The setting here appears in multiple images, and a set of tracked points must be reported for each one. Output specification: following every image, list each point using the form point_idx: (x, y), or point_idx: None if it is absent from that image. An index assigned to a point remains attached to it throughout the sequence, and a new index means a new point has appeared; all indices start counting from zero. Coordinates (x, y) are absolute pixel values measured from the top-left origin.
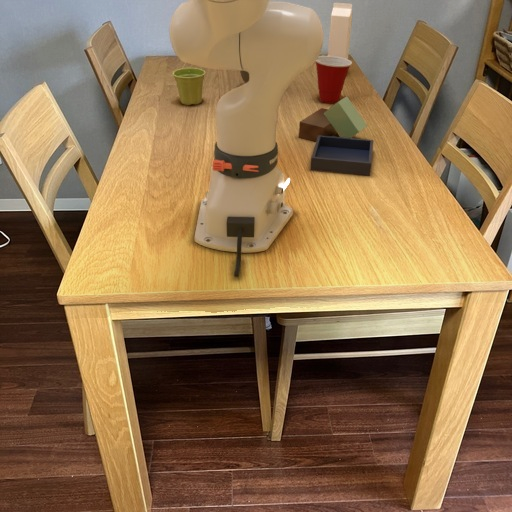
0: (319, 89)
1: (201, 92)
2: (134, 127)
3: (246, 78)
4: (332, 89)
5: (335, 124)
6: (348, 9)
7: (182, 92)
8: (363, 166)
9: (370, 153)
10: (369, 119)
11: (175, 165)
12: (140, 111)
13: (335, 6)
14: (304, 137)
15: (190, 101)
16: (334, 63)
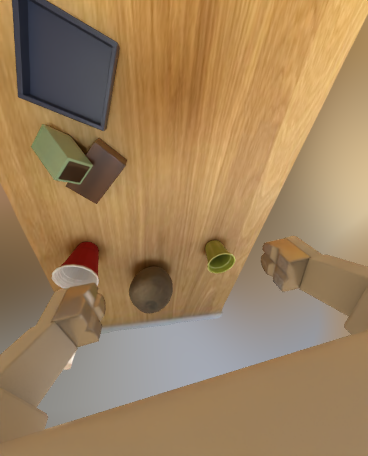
0: (97, 254)
1: (207, 250)
2: (268, 200)
3: (166, 272)
4: (82, 249)
5: (78, 150)
6: None
7: (224, 247)
8: None
9: (17, 35)
10: (39, 201)
11: (264, 105)
12: (253, 230)
13: (68, 364)
14: (120, 155)
15: (216, 241)
16: (76, 283)
